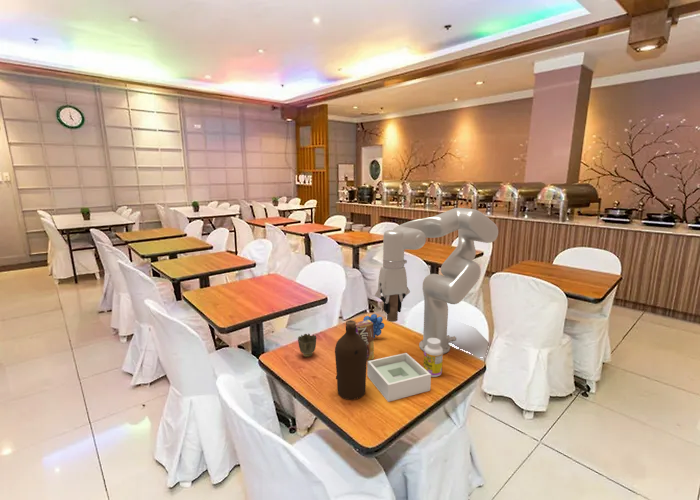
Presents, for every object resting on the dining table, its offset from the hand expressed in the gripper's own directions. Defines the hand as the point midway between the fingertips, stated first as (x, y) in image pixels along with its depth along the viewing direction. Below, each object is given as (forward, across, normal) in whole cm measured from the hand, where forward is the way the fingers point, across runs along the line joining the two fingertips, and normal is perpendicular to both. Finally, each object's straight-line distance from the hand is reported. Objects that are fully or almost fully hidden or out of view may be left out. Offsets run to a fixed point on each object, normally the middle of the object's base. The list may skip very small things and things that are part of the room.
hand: (392, 311), depth 134 cm
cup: (+22, +29, -18) cm, 40 cm away
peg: (+3, 0, 0) cm, 3 cm away
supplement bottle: (+21, -11, +11) cm, 27 cm away
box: (+21, +4, +13) cm, 25 cm away
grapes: (+22, -1, -22) cm, 31 cm away
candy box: (+22, +9, -7) cm, 25 cm away
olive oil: (+22, +21, +11) cm, 32 cm away
